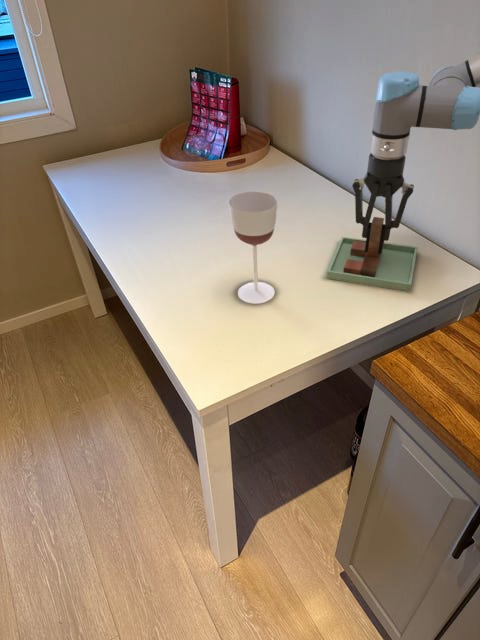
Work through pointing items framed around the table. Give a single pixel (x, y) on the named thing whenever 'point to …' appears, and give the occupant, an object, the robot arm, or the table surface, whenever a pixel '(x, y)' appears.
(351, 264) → the chip
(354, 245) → the chip
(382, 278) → the tray
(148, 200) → the table surface
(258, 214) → the wineglass
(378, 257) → the brown piece
